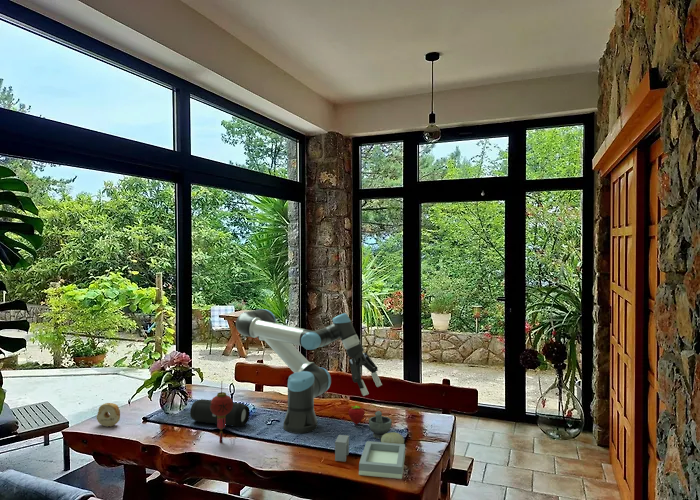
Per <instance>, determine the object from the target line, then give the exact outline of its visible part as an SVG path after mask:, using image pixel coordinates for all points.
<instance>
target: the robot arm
mask: <svg viewBox="0 0 700 500" xmlns="http://www.w3.org/2000/svg"><path fill="white" fill-rule="evenodd" d="M276 321H277V320H276V316H275V315H274V313H273V312H272V311H271V310H269V309H266V308H265V309H263V308H258V309H255V310H249V311H248V310H247V311H244V312H242V313H240V314H239V315H238V317H237V319H236V321H235V329H236V331H237V332H238V333H239V334H241V336H245V337H250V338H255V339H256V338H258V340H259V341H264V342H265V343H266V345H268V346H269V347H270V348H271V350H273V352H274V353H275V354H276V355H277V356H278V357H279V358H280V359H281V360H282V362H284V364H286V366H287V367H288V368H289V369H290V370H291V372H292V373H291V374H290V375H289V376H288V379H287V411H286V414H285V417H284V420H283V427H282V428H283V429H284V430H285V431H286V432H289V433H294V434H304V433H310V432H313V431H316V430H317V428H318V419H317V415H316V412H315V409H314V408H315V405H314V404H315V398H317V397H318V396H321V395H323V394H325V393H326V392H327V391H328V390H329V389H330V387H331V384H332V377H331V374H330V372H329V371H328V370H327V369H326V368H324V367H320V366H318V365H317V364H316V363H315V362H314V361H309V360H308V359H307V358H306V357H305V356H304V355H303V354H302V353H301V352H300V351H299V349H298V348H296V346H300V347H303V348H304V349H305V350H309V351H311V350H313V351H314V350H316V349H317V348H322V347H325V346H328V345H329V344H331V343H333V342H335V341H337V340H339V339H340V340H341V342H342V345H343V348H344V349H346V354H347V356H348V358H351V359H349V360H348V363H349V367H350V372H351V373H350V374H351V380H352V382H353V383H356V384H357V385H358V388H359V390H360V393H361V395H362V396H363V397H365V396H368V395H369V394H370V393H369V391H368V388H367V386H366V384H365V382H364V380H363V379H362V366H363V367H364V368H366V369H367V371H369V372H370V375H371V377H372V379H373V382H374V384H375V386H376V388H379V387H381V386H383V383H382V382H381V379H380V377H379V375H378V373H377V372H379V370H378V366H377V365H376V364H375V362H374V361H373V360H372V358H370V356H369V354H368V352H367V351H366V352H364V350H365V349H364V347H363V345H362V343H360V342H361V340H360V339H359V336H358V334H357V333H356V329H355V328H354V326H353V324H352V323H353V322H352V320H351V319H350V317H349V316H348V314H347V313H345V312H344V313H341V314H337V316H334V317H333V318H332V323H330V324H329V325H327V326H325V327H324V328H320V329H316V330H310V329H307V328H306V329H305V328H301V327H296V326H291V325H285V324H283V323H282V324H281V323H277V322H276Z"/></svg>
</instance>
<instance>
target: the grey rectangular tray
mask: <svg viewBox="0 0 700 500" xmlns="http://www.w3.org/2000/svg"><path fill="white" fill-rule="evenodd" d="M405 457H406V444H405V443H404V444H396V443H384V442H381V441H370V440H367V441H366V443H365V445H364V448H363V451H362V454H361V456H360V459H359V463H358V476H366V477H367V476H368V477H377V478H378V477H379V478H388V479H389V478H390V479H398V480H399V479H401V480H402V479H403V473H404V467H405V460H406V458H405Z"/></svg>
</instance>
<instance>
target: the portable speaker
mask: <svg viewBox="0 0 700 500" xmlns="http://www.w3.org/2000/svg"><path fill="white" fill-rule="evenodd" d="M211 400H212V399H203V398H201V399H199V400H195V401H193V403H192V405H191V407H190V410H189V411H190V412H189V415H190V418H191V419H192V420H194V421H195V422H197V421H198V422H197V423H201V422H206V423H205V424H210V423H216V424H215V425H217V415H214V414H213V413H212V412H211V411H210V402H211ZM249 418H250V407H249V406H248V405H246V404H244V403H241V402H233V408H232V410H231V411H230V413H228V414H227V415H226V417H225V424H226V425H233V426H232V427H235V426H240V427H243V426H245V425H246V424H247V423H248V421H249ZM226 425H225V426H226Z"/></svg>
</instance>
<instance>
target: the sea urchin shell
mask: <svg viewBox="0 0 700 500" xmlns="http://www.w3.org/2000/svg"><path fill="white" fill-rule="evenodd" d="M380 442H384V443H396V444H405V439H404V437H403V435H402V434H400V433H399V432H394V431H393V432H392V431H389V432H388V433H386V434H384V435H383V436H382V438H381V439H380Z"/></svg>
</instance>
